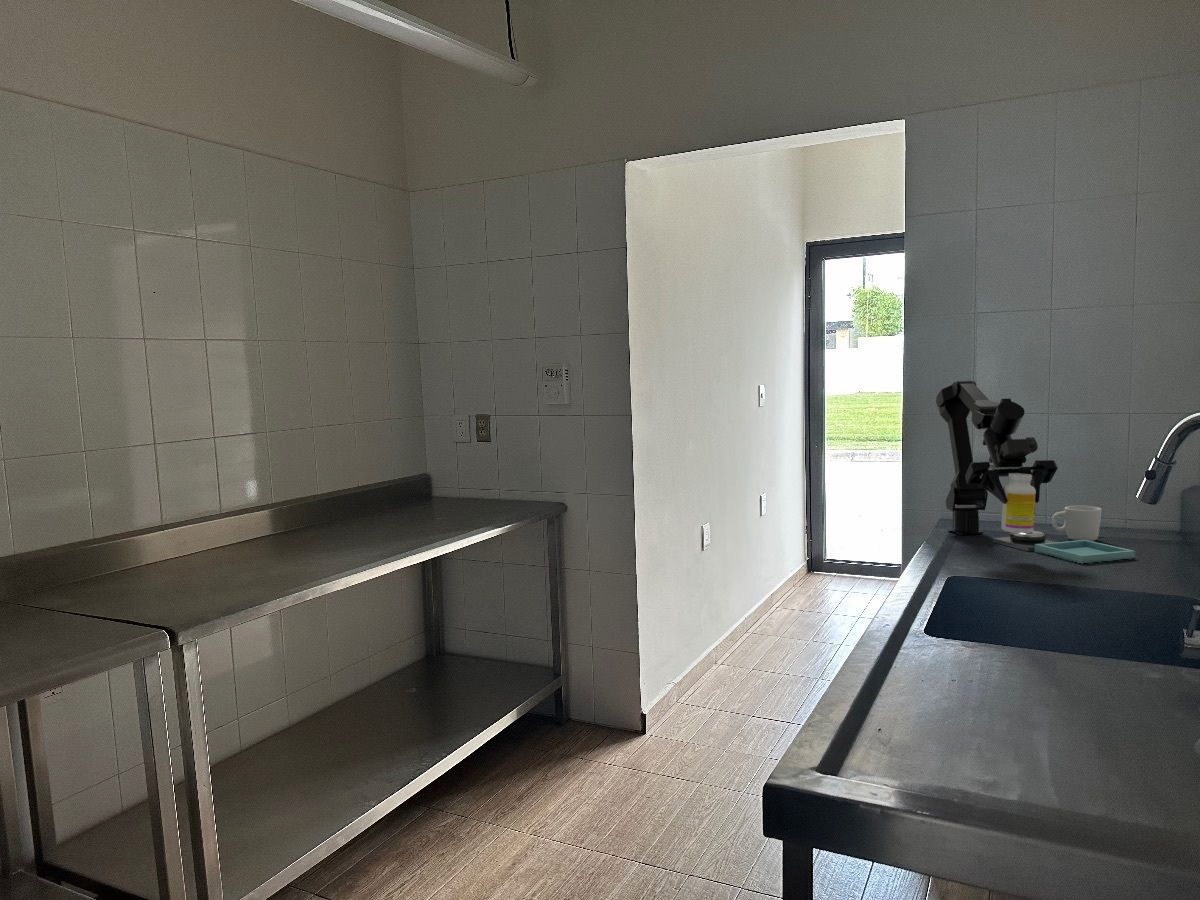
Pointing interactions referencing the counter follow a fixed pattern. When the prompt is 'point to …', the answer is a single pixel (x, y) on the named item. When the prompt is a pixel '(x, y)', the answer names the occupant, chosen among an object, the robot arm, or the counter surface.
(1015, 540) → the block
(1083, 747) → the counter surface
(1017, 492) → the supplement bottle
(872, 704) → the counter surface
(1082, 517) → the cup
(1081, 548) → the tray
